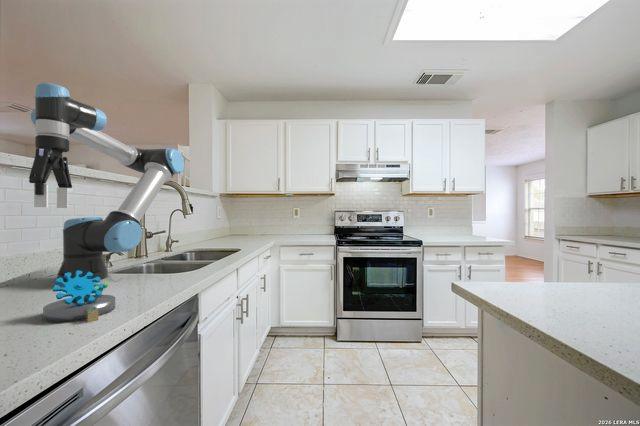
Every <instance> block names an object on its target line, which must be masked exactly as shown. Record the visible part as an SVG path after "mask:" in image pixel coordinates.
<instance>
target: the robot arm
mask: <svg viewBox="0 0 640 426" xmlns="http://www.w3.org/2000/svg"><path fill="white" fill-rule="evenodd" d="M34 95H35V96H34V99H35V100H34V101H35V102H34V103H35V105H34V106H35V108H34V109H33V110H32V111H31V113H30V119H31V122H32V123H33V128H35V134H36V136H35V139H34V141H35V156H34V160H33V161H32V162H33V163H32V166H31V169H30V173H29V177H28V182H29V184H33V187H34V188H33V207H34V208H48V207H49V184H47V181H48V179H49V178H50V175H51V173H52V172H53V175H54V178H55V180H56V181H55V182H56V183H57V186H58V187H56V208H57V209H69V189H72V188H73V185H72V181H71V175H70V169H69V165H68V163H69V162H68V157H66V156H63V153H68V152H70V140H69V138H70V139H72V140H74V141H75V142H78V143H80V144H83V145H85V146H86V147H89V148H91V149H94V150H96V151H98V152H99V153H102V154H104V155H105V156H108V157H110V158H112V159H114V160H116V161H118V163H119V164H120V165H122V166H123V167H126V168H128V169H131V170H133V171H135V172H139V173H142V176H141V177H140V178H139V180H138V181H137V183H136V184H135V185H134V187H132V189H131V191H130V192H129V194H128V195H127V196H126V197H125V199H124V200H123V201H122V203H121V204H120V206H119V207H118V209H117V210H111V211H110V212H109V213H108V214H107V216H106V217H105V218H104V220H103V217H101V216H88V217H87V216H86V217H78V218H77V217H76V218H70V219H67V220H65V221H64V223H63V227H62V228H63V229H62V240H63V242H62V243H63V244H62V245H63V247H62V250H63V253H62V254H63V257H62V263H61V264H60V268H59V269H58V272H57V274H56V280H57V279H58V278H60V277H61V278H63V282H68V281H67V279H66V278H65V277H64V275H65V273H71V277H70V278H72V279H73V278H75V277H76V275H75V273H76V271H77V270H78V271H82V274H81V276H79V277H84V276H85V275H87V273H88V272H91V273H93V276H92V277H91V278H87V279H93V278H96V277H100V280H103V279H105V278H108V277H109V270H108V268H107V265H106V262H105V259H104V256H103V253H115V254H116V253H117V254H119V253H127V252H130V251H132V250H134V249H135V248H136V247H137V246H138V245H139V244H140V243H141V240H142V237H143V235H142V233H143V229H142V222H141V220H142V218H143V217H144V215H145V214H146V212H147V211H148V209H149V207H150V206H151V205H152V203H153V201H154V200H155V198H156V196H158V193H159V192H160V190H161V188H162V187H163V185H164V184H165V183H167V182H169V181H171V180H172V178H173V177H174V175H179V174H181V173H183V171H184V168H185V162H184V158H183V156H182V154H181V152H180V151H179V150H178V149H176V148H170V147H166V148H151V149H148V148H145V149H144V148H139V147H135V146H133V145H127V144H125V143H123V142H121V141H120V140H118V139H116V138H114V137H112V136H110V135H109V134H107V133H105V132H102V130H104V129H105V128H106V125H107V122H108V121H107V114H106V113H105V112H103V111H102V110H101V109H98V108H96V107H94V106H92V105H88V104H85V103H84V102H80V101H77V100H74V99H73V98H70V97H71V94H70V91H69V89H68V88H66V87H64V86H61V85H59V84H56V83H51V82H39V83H37V85H36V86H35V94H34Z"/></svg>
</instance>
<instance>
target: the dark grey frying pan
mask: <svg viewBox="0 0 640 426" xmlns="http://www.w3.org/2000/svg"><path fill="white" fill-rule="evenodd" d="M92 296H93V297H95V294H92ZM66 299H67V298H64V299H59V300H56V301H54V302H50V303H47V304H46V305H44V306H43V308H42V320H43V321H44V322H47V323H54V324H55V323H56V324H57V323H58V324H59V323H60V324H61V323H71V322H78V321H85V322H86V323H92V322H95V321H99V317H101V316H103V315H104V316H105V315H106V314H109V313H111V312H113V311H114V310H115V309H116V297H115V296H114V295H112V294H101V295H100V296H99V297H95V300H94V302H90V303H89V302H88V299H89V297H88V296H86V297H84V303H83V305H76V303H77V301H78V300H80V298H77V299H76V300H75V301H72V302H71V304H69V305H68V304H66V303H65V300H66Z"/></svg>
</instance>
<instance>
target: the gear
mask: <svg viewBox="0 0 640 426" xmlns="http://www.w3.org/2000/svg"><path fill="white" fill-rule="evenodd" d="M81 274H82V271H78V270H77V271H76V273H75V275H76V277H75V278H73V279H72V278H70V277H71V273H65V275H64V277H65V278H66V279H67V281H68V282H63V278H61V277H60V278H58V279H57V278H56V279H55V284H54V287H53V289H52V292H54V293H55V292H57V293H56V295H55V298H56V300H62V299H63V298H65V299H66V300H65V303H66V304H68V305H69V304H71V302H72V301H75V300H76V299H77V298H80V300H78V301H77V303H76V305H83V303H84V297H86V296H88V297H89V299H88V302H89V303H90V302H94V300H95V297H99V296H100V295H103V292H104V289H107V287H108V286H109V282H107V281H106V282H105V281H104V283H100V282H101V279H100V277H96V278H93V279H87V278H91V277H92V276H93V273H91V272H88V273H87V275H85V276H84V277H79V276H81ZM60 285H61V286H62V287H61V286H60ZM62 292H63V293H62ZM92 295H95V297H93V296H92ZM67 297H68V298H67Z"/></svg>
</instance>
